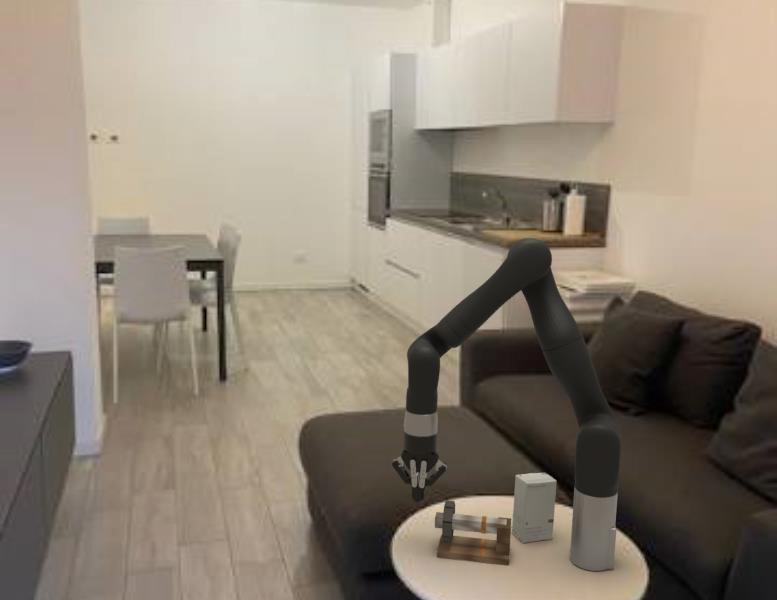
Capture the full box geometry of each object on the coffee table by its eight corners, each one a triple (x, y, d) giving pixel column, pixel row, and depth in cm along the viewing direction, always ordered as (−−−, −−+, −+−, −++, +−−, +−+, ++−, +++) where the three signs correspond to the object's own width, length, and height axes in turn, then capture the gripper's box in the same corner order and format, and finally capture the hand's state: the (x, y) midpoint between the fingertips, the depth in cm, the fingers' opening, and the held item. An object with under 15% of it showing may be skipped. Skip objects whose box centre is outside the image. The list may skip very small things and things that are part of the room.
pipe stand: (510, 547, 178) (511, 513, 177) (508, 565, 171) (510, 530, 169) (436, 539, 181) (437, 506, 180) (432, 556, 174) (433, 522, 172)
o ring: (454, 530, 180) (455, 495, 179) (450, 548, 172) (451, 512, 170) (445, 529, 181) (447, 495, 179) (441, 547, 172) (442, 511, 171)
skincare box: (522, 544, 180) (525, 484, 177) (510, 532, 186) (513, 474, 183) (554, 539, 183) (557, 480, 180) (541, 527, 188) (545, 470, 185)
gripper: (452, 426, 175) (448, 497, 179) (394, 420, 178) (392, 491, 181) (448, 437, 168) (445, 511, 171) (388, 432, 171) (386, 505, 174)
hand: (418, 500), depth 176 cm, fingers closed
